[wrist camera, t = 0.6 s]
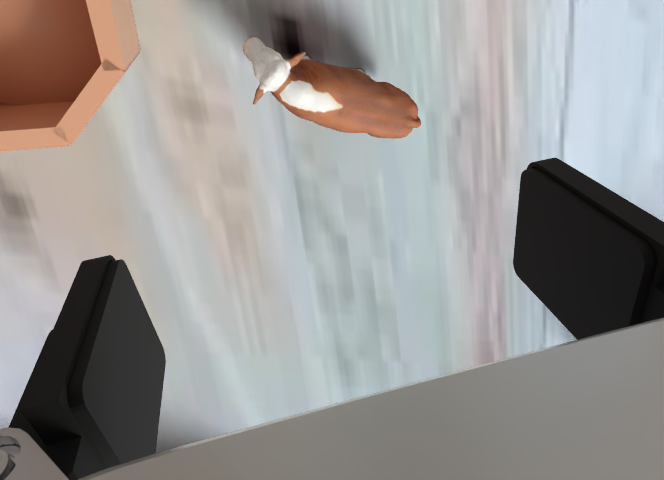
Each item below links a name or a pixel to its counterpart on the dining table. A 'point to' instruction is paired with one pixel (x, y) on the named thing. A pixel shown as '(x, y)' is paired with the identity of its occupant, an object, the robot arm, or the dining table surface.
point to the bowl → (59, 66)
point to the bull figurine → (332, 94)
